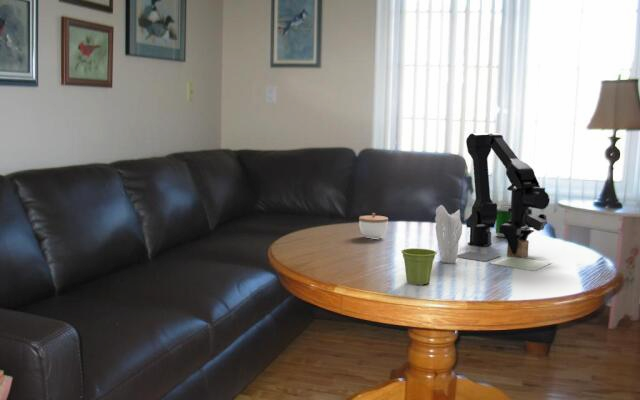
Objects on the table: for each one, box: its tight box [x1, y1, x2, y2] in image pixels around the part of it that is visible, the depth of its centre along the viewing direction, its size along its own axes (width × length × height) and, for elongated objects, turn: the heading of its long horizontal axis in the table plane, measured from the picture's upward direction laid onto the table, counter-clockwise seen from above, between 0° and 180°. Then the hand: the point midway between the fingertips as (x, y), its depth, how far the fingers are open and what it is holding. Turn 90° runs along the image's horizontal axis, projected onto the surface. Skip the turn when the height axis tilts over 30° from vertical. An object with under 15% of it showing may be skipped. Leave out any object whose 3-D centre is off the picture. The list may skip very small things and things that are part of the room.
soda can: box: [495, 204, 511, 238], centre depth 252 cm, size 8×8×12 cm
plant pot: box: [400, 247, 437, 286], centre depth 179 cm, size 9×9×9 cm
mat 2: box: [490, 256, 553, 272], centre depth 206 cm, size 14×14×1 cm
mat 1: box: [457, 250, 501, 263], centre depth 215 cm, size 11×11×1 cm
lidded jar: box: [358, 212, 389, 238], centre depth 246 cm, size 11×11×9 cm
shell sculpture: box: [434, 204, 463, 264], centre depth 205 cm, size 8×8×18 cm
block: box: [506, 239, 530, 258], centre depth 218 cm, size 5×5×5 cm
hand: (517, 252), depth 218 cm, fingers closed on block, 5 cm apart
